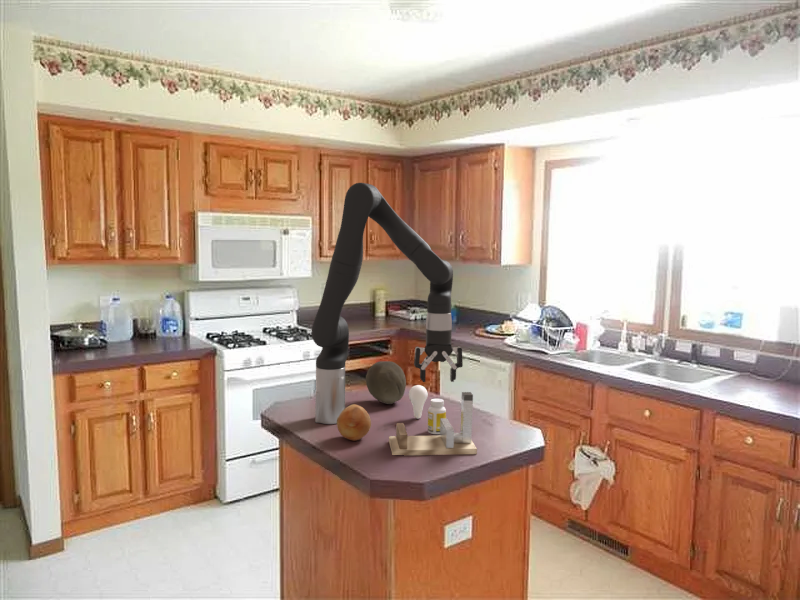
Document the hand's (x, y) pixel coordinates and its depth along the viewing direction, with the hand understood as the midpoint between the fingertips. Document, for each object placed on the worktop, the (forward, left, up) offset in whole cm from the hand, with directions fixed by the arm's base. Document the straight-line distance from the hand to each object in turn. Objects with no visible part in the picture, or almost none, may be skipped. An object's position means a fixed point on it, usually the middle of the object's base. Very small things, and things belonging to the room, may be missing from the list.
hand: (438, 381), depth 172 cm
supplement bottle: (0, 0, -16) cm, 16 cm away
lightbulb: (-4, +13, -16) cm, 21 cm away
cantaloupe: (-13, +31, -16) cm, 37 cm away
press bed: (-4, -13, -16) cm, 21 cm away
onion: (-25, -5, -16) cm, 30 cm away
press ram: (+3, -13, -14) cm, 19 cm away
